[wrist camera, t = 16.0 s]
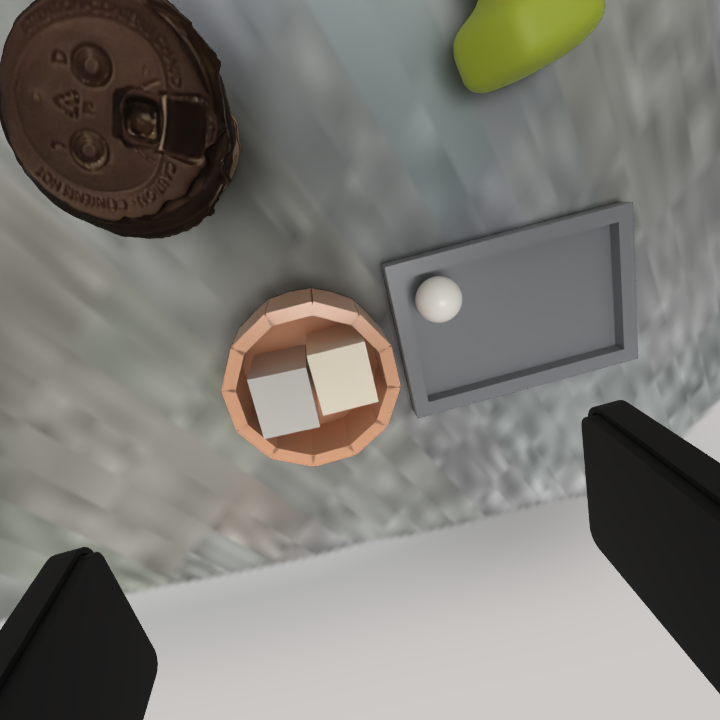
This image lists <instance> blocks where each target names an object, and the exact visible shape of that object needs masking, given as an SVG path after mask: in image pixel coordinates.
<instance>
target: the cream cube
mask: <svg viewBox="0 0 720 720" xmlns="http://www.w3.org/2000/svg"><path fill="white" fill-rule="evenodd" d="M306 355H307V359H308V363H309V367H310V370H311V374H312V377H313V381H314V385H315V388H316V392H317V395H318V399H319V403H320V406H321V410H322V413H323V416H324V415H328V414H332V413H336V412H340V411H344V410H348V409H352V408H356V407H360V406H364V405H368V404H372V403H376V402H379V401H378V397H377V393H376V388H375V384H374V379H373V375H372V371H371V366H370V362H369V358H368V353H367V349H366V344H365V341H364V338H363V336H362V335H361V334H360V333H359V332H358V331H357V330H356V329H355V328H354V327H353V326H352V325H348V324H344V325H340V326H336V327H332V328H328V329H324V330H320V331H316V332H312V333H308V334H306Z"/></svg>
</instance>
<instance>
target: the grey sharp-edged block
mask: <svg viewBox="0 0 720 720" xmlns="http://www.w3.org/2000/svg"><path fill="white" fill-rule="evenodd" d="M247 382H248V385H249V389H250V392H251V395H252V399H253V402H254V406H255V409H256V413H257V416H258V420H259V423H260V427H261V430H262V433H263V437H264V439H268V438H272V437H277V436H281V435H286V434H290V433H295V432H299V431H304V430H308V429H313V428H317V427H320V419H319V408H318V397H317V393H316V389H315V385H314V381H313V377H312V374H311V370H310V367H309V363H308V359H307V355H306V346H305V344H304V345H299V346H294V347H290V348H285V349H280V350H276V351H271V352H266V353H261V354H257V355H254V356H253V360H252V363H251V367H250V371H249V375H248V379H247Z"/></svg>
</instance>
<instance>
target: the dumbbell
mask: <svg viewBox="0 0 720 720" xmlns="http://www.w3.org/2000/svg"><path fill="white" fill-rule="evenodd" d="M604 9H605V2H604V0H478V2H477V5H476V7H475V9H474V11H473V12H472V14H471V15H470V17H469V18H468V19H467V20H466V22H465V23H464V24H463V26H462V27H461V28H460V30H459V31H458V33H457V35H456V37H455V40H454V45H453V52H454V58H455V62H456V65H457V68H458V70H459V73H460V75H461V78H462V80H463V83H464V84H465V86H466V88H468V89H469V90H470V91H472V92H474V93H487V92H491V91H494V90H497V89H499V88H502V87H505V86H507V85H510V84H512V83H514V82H516V81H518V80H521V79H523V78H525V77H527V76H528V75H530V74H532V73H534V72H536V71H538V70H540V69H542V68H543V67H545V66H547V65H549V64H550V63H552V62H554V61H555V60H557V59H559V58H560V57H562V56H563V55H565V54H566V53H568V52H569V51H571V50H572V49H573V48H575V47H576V46H577V45H579V44H580V43H581V42H582V41H583V40H584V39H585V38H586V37H587V36H588V35H589V34H590V33H591V32H592V31H593V30H594V29H595V28H596V26H597V25H598V23H599V22H600V20H601V18H602V16H603V14H604Z"/></svg>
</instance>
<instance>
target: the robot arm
mask: <svg viewBox="0 0 720 720" xmlns="http://www.w3.org/2000/svg"><path fill="white" fill-rule="evenodd" d="M582 437H583V449H584V461H585V474H586V486H587V498H588V509H589V522H590V531H591V534H592V537H593V539H594V541H595V543H596V545H597V546H598V548H599V549H600V550H601V552H602V553H603V554H604V555H605V556H606V558H607V559H608V560H609V561H610V562H611V563H612V565H613V566H614V567H615V568H616V570H617V571H618V572H619V573H620V574H621V576H622V577H623V578H624V579H625V580H626V582H627V583H628V584H629V585H630V586H631V588H632V589H633V590H634V591H635V592H636V594H637V595H638V596H639V597H640V598H641V600H642V601H643V602H644V603H645V604H646V606H647V607H648V608H649V609H650V610H651V612H652V613H653V614H654V615H655V616H656V618H657V619H658V620H659V621H660V623H661V624H662V625H663V626H664V627H665V629H666V630H667V631H668V632H669V633H670V635H671V636H672V637H673V638H674V639H675V641H676V642H677V643H678V644H679V645H680V647H681V648H682V649H683V650H684V651H685V653H686V654H687V655H688V656H689V657H690V659H691V660H692V661H693V662H694V663H695V665H696V666H697V667H698V668H699V669H700V671H701V672H702V673H703V674H704V675H705V677H706V678H707V679H708V680H709V681H710V683H711V684H712V685H713V686H714V687H715V689H716V690H717V691H718V692H719V693H720V463H719V462H717V461H716V460H714V459H713V458H711V457H710V456H708V455H707V454H705V453H704V452H702V451H701V450H699V449H698V448H696V447H695V446H693V445H692V444H690V443H689V442H687V441H685V440H684V439H682V438H681V437H679V436H678V435H676V434H675V433H673V432H672V431H670V430H669V429H667V428H666V427H664V426H663V425H661V424H660V423H658V422H656V421H655V420H653V419H652V418H650V417H649V416H647V415H646V414H644V413H643V412H641V411H640V410H638V409H637V408H635V407H634V406H632V405H630V404H629V403H627V402H626V401H623V400H618V401H614V402H610V403H607V404H603V405H599V406H596V407H592V408H591V409H590V410H589V413H588V417H585V418H583V420H582ZM157 666H158V662H157V656H156V652H155V650H154V648H153V646H152V644H151V642H150V641H149V639H148V637H147V635H146V633H145V631H144V630H143V628H142V626H141V624H140V622H139V620H138V619H137V617H136V615H135V613H134V611H133V610H132V608H131V606H130V604H129V602H128V600H127V599H126V597H125V595H124V593H123V591H122V589H121V588H120V586H119V584H118V582H117V580H116V578H115V577H114V575H113V573H112V571H111V569H110V567H109V566H108V564H107V562H106V560H105V558H104V557H103V555H102V554H100V553H99V552H93V551H92V550H91V549H89V548H88V547H82V548H79V549H75V550H71V551H68V552H64V553H60V554H57V555H54V556H52V557H50V558H49V559H48V560H47V562H46V563H45V565H44V566H43V568H42V569H41V570H40V572H39V573H38V575H37V576H36V578H35V579H34V581H33V582H32V584H31V585H30V587H29V588H28V590H27V591H26V593H25V594H24V596H23V597H22V599H21V600H20V602H19V603H18V605H17V606H16V608H15V609H14V611H13V612H12V614H11V615H10V616H9V618H8V619H7V621H6V622H5V624H4V625H3V627H2V629H1V630H0V720H143V719H144V715H145V712H146V708H147V705H148V701H149V698H150V695H151V691H152V688H153V684H154V681H155V677H156V674H157Z"/></svg>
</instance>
